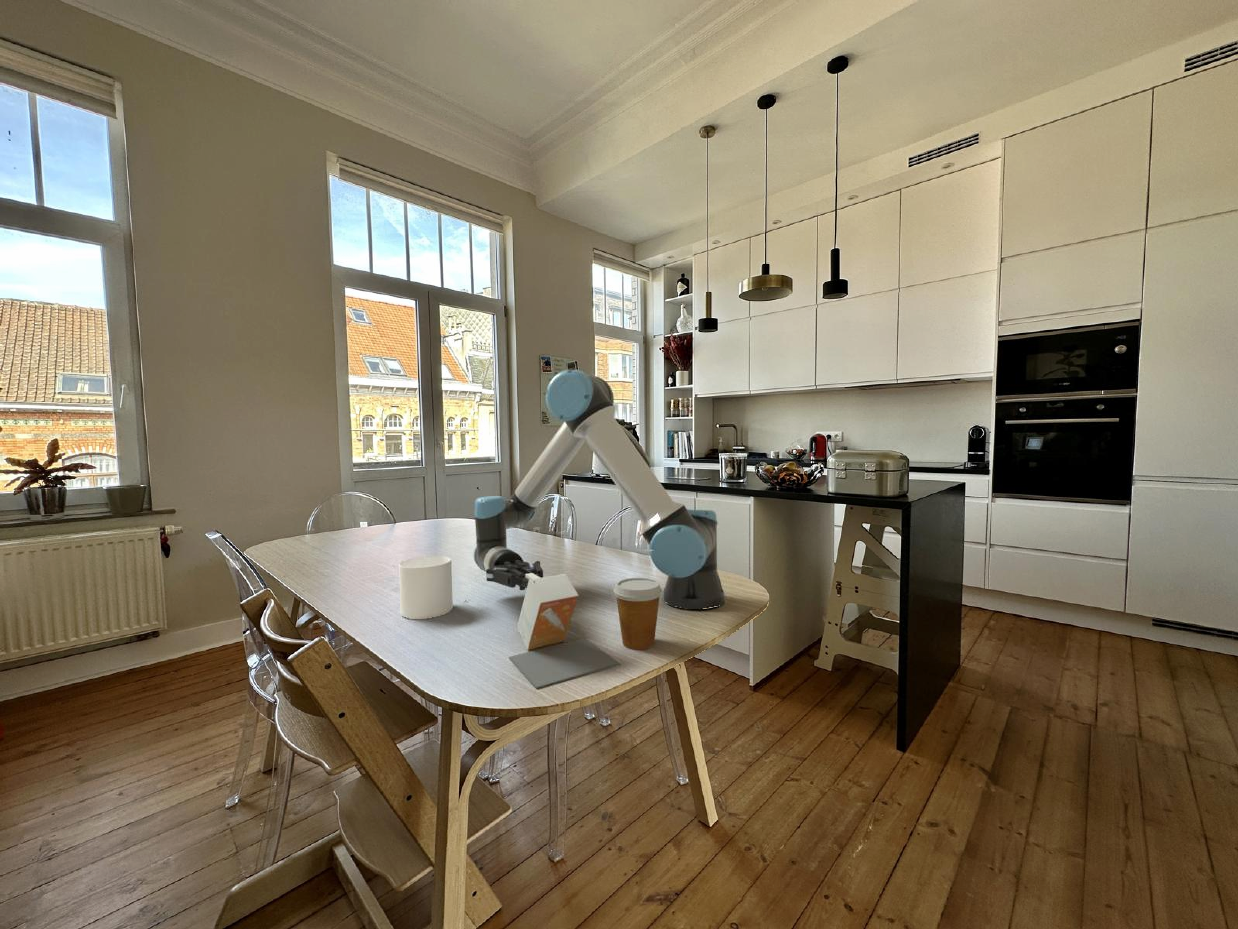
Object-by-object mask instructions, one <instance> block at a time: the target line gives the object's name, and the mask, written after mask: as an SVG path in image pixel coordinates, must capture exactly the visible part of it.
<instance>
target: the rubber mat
mask: <svg viewBox="0 0 1238 929" xmlns="http://www.w3.org/2000/svg"><path fill="white" fill-rule="evenodd" d="M508 659H509V660H510V661H511V663H512V664H513V665H514V666H515V668H516V669H517V670H519V672H520V673H521V674H522V676H524V678H526V679H527V681H528V682H529V683H530V684H531V685H532V686H533V687H534V688H535V690H538V689H541V687H542V688H545V687H549V686H552V685H555V684H558V683H562V682H565V681H568V680H571V679H576V678H578V677H579V678H580V677H582V676H586V675H589V674H592V673H595V672H599V671H603V670H606V669H610V668H612V667H616V666H619V665H621V662H619V661H618V660H616V659H615V658H614V657H613V656H611V655H610V654H608V653H607V652H605V651H604V650H603V649H602V648H600V647H598V646H597V645H596V644H594V643H593V642H592V641H591V640H589V639H588V638H586V637H584V638H580V639H576V640H571V641H569V642H568V641H567V642H564V643H563V642H562V643H560V644H556V645H550V646H547V647H542V648H540V649H535V650H532V651H531V650H530V651H527V652H524V653H519V654H516V655H511V656H509V657H508ZM551 684H552V685H551ZM537 688H538V689H537Z"/></svg>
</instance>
